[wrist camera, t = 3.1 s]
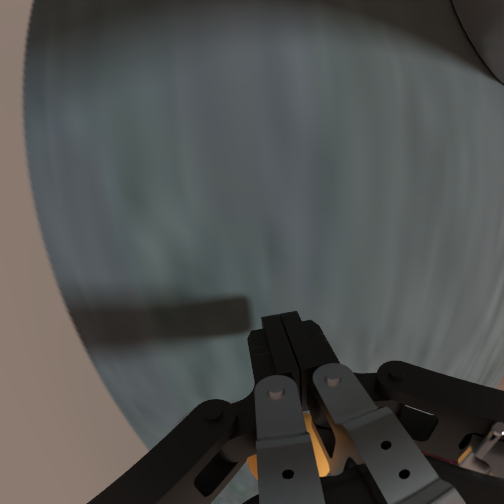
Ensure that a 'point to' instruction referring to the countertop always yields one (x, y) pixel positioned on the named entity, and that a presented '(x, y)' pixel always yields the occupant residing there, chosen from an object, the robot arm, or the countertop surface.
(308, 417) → the ball
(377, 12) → the countertop surface
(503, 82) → the robot arm
